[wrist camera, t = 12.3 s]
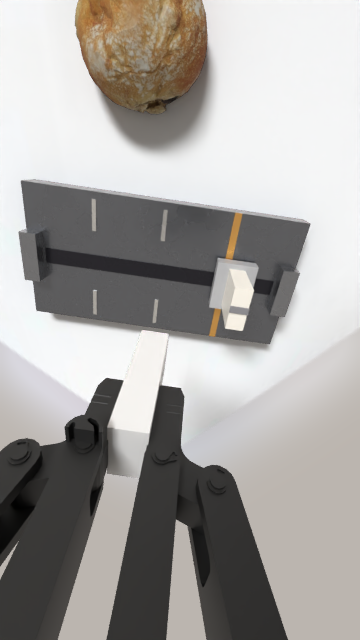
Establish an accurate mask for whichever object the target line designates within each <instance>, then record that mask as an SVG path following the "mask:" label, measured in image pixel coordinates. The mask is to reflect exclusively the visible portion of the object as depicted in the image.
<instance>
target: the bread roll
mask: <svg viewBox="0 0 360 640" xmlns="http://www.w3.org/2000/svg"><path fill="white" fill-rule="evenodd" d="M75 26H76V29H77V31H76V34H77V37H78V39H79V42H80V47H81V52H82V56H83V60H84V62H85V64H86V67H87V69H88V71H89V74H90V76H91V78H92V79H93V81H94V82H95V84H96V85H97V86H98V87H99V88H100V89H101V91H102V92H103V93H104V94H105V95H106V96H107V97H108V98H109V99H111V100H112V101H113V102H114V103H116V104H118V105H121V106H123V107H125V108H128V109H130V110H134V111H139V112H142V113H144V111H147V112H148V113H149V114H161V113H163V112H164V111H166V106H165V105H167V104H169V103H171V102H172V101H174V100H176V99H177V98H179V97H181V96H182V95H183V94H184V93H186V92H188V90H189V89H190V87H191V86H192V85H193V84H194V82H195V81H196V80H197V78H198V77H199V75H200V72H201V69H202V66H203V63H204V60H205V55H206V50H207V22H206V13H205V9H204V6H203V3H202V0H79V1H78V3H77V8H76V15H75Z"/></svg>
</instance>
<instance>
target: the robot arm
mask: <svg viewBox="0 0 360 640" xmlns="http://www.w3.org/2000/svg"><path fill="white" fill-rule="evenodd" d="M168 337H169V334H167V333H160V332H153V331H146V330H142V331H141V334H140V337H139V340H138V342H137V345H136V348H135V351H134V354H133V356H132V359H131V362H130V365H129V368H128V370H127V373H126V376H125V379H124V381H123V380H117V379H110V378H106V379H105V380H103V381H102V382H101V383H100V384H99V385H98V387H97V389H96V391H95V393H94V396H93V398H92V400H91V403H90V404H89V407H88V409H87V411H86V413H85V415H80V416H77V417H75V418H73V419H72V420H70V421H69V422H68V423H67V424H66V426H65V435H66V440H65V441H63V442H61V443H57V444H51V445H44V446H40V445H39V443H38V442H36V441H35V440H33V439H28V438H26V439H19V440H16V441H14V442H12V443H10V444H9V445H7V446H6V447H5V448H4V449H2V450H1V451H0V566H1V565H2V563H3V562H4V560H5V559H6V558H7V556H8V555H9V553H10V552H11V550H12V549H13V548H14V546H15V545H16V544H17V542H18V541H19V542H18V544H17V546H16V549H15V550H14V552H13V555H12V557H11V559H10V561H9V563H8V565H7V567H6V569H5V571H4V573H3V575H2V577H1V580H0V640H58V636H59V633H60V630H61V626H62V623H63V619H64V616H65V613H66V610H67V606H68V603H69V599H70V596H71V593H72V589H73V586H74V583H75V580H76V576H77V573H78V569H79V567H80V563H81V560H82V557H83V553H84V550H85V547H86V543H87V540H88V536H89V533H90V530H91V527H92V523H93V520H94V517H95V513H96V510H97V507H98V503H99V500H100V497H101V493H102V490H103V483H104V476H105V473H106V469H107V474H113V475H120V476H127V477H134V478H139V483H138V488H137V492H136V497H135V502H134V508H133V512H132V517H131V522H130V527H129V532H128V537H127V542H126V547H125V551H124V557H123V561H122V566H121V571H120V576H119V581H118V586H117V591H116V596H115V601H114V606H113V610H112V615H111V620H110V625H109V630H108V635H107V640H166V634H167V621H168V610H169V597H170V584H171V571H172V559H173V547H174V533H175V522H176V519H177V520H179V521H180V522H182V523H184V524H185V525H187V526H188V531H189V537H190V543H191V549H192V555H193V561H194V566H195V573H196V579H197V585H198V591H199V597H200V603H201V609H202V615H203V621H204V626H205V633H206V639H207V640H288V639H287V636H286V633H285V630H284V627H283V624H282V621H281V618H280V614H279V612H278V608H277V606H276V602H275V599H274V596H273V594H272V591H271V587H270V584H269V582H268V578H267V575H266V572H265V569H264V566H263V563H262V560H261V557H260V554H259V551H258V548H257V545H256V542H255V539H254V536H253V533H252V530H251V527H250V524H249V521H248V518H247V515H246V512H245V509H244V506H243V503H242V500H241V497H240V494H239V491H238V488H237V485H236V482H235V480H234V478H233V476H232V474H231V473H230V472H229V471H227V470H226V469H225V468H223V467H221V466H218V465H210V466H207V467H205V468H202V467H200V466H198V465H196V464H194V463H193V462H191V461H189V460H188V459H187V458H186V457H185V455H184V454H183V452H182V449H181V432H182V420H183V407H184V395H183V393H182V390H181V388H176V387H169V386H162V380H163V375H164V369H165V361H166V353H167V345H168ZM19 539H20V540H19Z"/></svg>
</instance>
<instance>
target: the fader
mask: <svg viewBox="0 0 360 640" xmlns="http://www.w3.org/2000/svg"><path fill="white" fill-rule="evenodd" d="M258 269H259V268H258V266H257V264H256V263H250V262H244V261H237V260H230V259H223V258H217V263H216V268H215V273H214V278H213V283H212V288H211V293H210V298H209V307H210V308H217V309H222V312H223V318H224V324H225V329H232V330H239V331H243V328H244V325H245V321H246V317H247V315H248V312H249V306H250V303H251V299H252V296H253V292H254V289H253V287H254V283H255V280H256V276H257V272H258Z"/></svg>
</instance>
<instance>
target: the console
mask: <svg viewBox="0 0 360 640" xmlns="http://www.w3.org/2000/svg"><path fill="white" fill-rule="evenodd" d="M21 186H22V194H23V203H24V211H25V219H26V228H27V229H25V230H22V231H19V239H20V246H21V253H22V261H23V268H24V276H25V280H32V281H33V285H34V294H35V302H36V310H37V311H42V312H49V313H56V314H63V315H70V316H77V317H84V318H91V319H98V320H105V321H112V322H119V323H126V324H133V325H140V326H147V327H154V328H161V329H167V330H174V331H181V332H188V333H195V334H202V335H209V336H213V337H215V336H216V337H223V338H230V339H237V340H244V341H251V342H258V343H265V344H270V342H271V339H272V336H273V333H274V330H275V327H276V324H277V321H278V318H279V316H280V317H285V314H286V312H287V309H288V306H289V303H290V300H291V297H292V294H293V292H294V289H295V286H296V283H297V280H298V277H299V274H300V273H299V272H298V271H297V269H296V265H297V262H298V259H299V256H300V253H301V251H302V248H303V245H304V242H305V239H306V236H307V233H308V230H309V227H310V223H308V222H306V221H304V220H302V219H296V218H289V217H283V216H276V215H269V214H263V213H256V212H249V211H243V210H236V209H229V208H223V207H216V206H209V205H203V204H196V203H189V202H182V201H176V200H169V199H162V198H156V197H149V196H142V195H136V194H129V193H122V192H116V191H109V190H102V189H96V188H89V187H82V186H76V185H69V184H62V183H55V182H49V181H42V180H35V179H32V180H21ZM217 258H223V259H230V260H237V261H244V262H250V263H256V264H257V266H258V268H259V269H258V272H257V276H256V280H255V283H254V287H253V289H254V292H253V296H252V299H251V303H250V306H249V312H248V315H247V317H246V321H245V325H244V328H243V331H239V330H232V329H225V324H224V318H223V312H222V309H217V308H210V307H209V298H210V293H211V288H212V283H213V278H214V273H215V268H216V263H217Z"/></svg>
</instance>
